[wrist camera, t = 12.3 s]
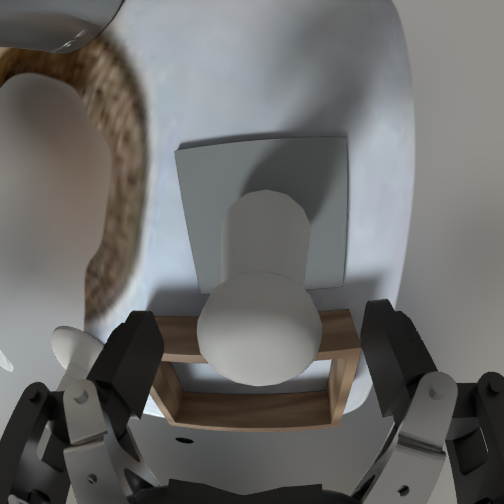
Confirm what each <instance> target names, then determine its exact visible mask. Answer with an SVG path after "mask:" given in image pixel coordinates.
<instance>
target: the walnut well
mask: <svg viewBox="0 0 504 504" xmlns="http://www.w3.org/2000/svg"><path fill="white" fill-rule="evenodd" d="M318 314H319V316H320V320H321V323H322V339H321V343H320V347H319V351H318V355H317V358H316V359H315V360H314V361H318V360H329V359H332V361H331V367H330V373H329V379H328V385H327V390H326V391H316V392H304V393H288V394H212V393H196V392H184V390H183V388H182V386H181V384H180V382H179V380H178V378H177V376H176V373H175V371H174V369H173V367H172V364H171V362H185V363H207V364H209V363H208V362H207V360H206V359H205V358H204V357H203V355H202V354H201V353H200V348H199V343H198V337H197V324H198V319H199V317H175V316H154V317H155V320H156V322H157V325H158V327H159V330H160V332H161V335H162V337H163V340H164V354H163V357H162V360H161V362H160V365H159V368H158V370H157V373H156V376H155V379H154V382H153V384H152V387H151V390H150V393H149V394H150V395H151V397H152V399H153V400H154V402H155V403H156V405H157V406H158V408H159V409H160V411H161V412H162V414H163V415H164V417H165V418H166V419H167V421H168V422H169V424H170V425H173V426H180V427H187V428H196V429H207V430H221V431H242V432H273V431H274V432H277V431H297V430H310V429H321V428H330V427H338V426H339V423H340V420H341V418H342V415H343V412H344V409H345V406H346V402H347V399H348V396H349V393H350V389H351V386H352V383H353V379H354V376H355V372H356V368H357V364H358V361H359V357H360V353H361V349H362V347H361V344H360V341H359V338H358V335H357V332H356V329H355V326H354V323H353V320H352V317H351V314H350V312H349V309H347V310H336V311H324V312H318Z"/></svg>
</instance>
